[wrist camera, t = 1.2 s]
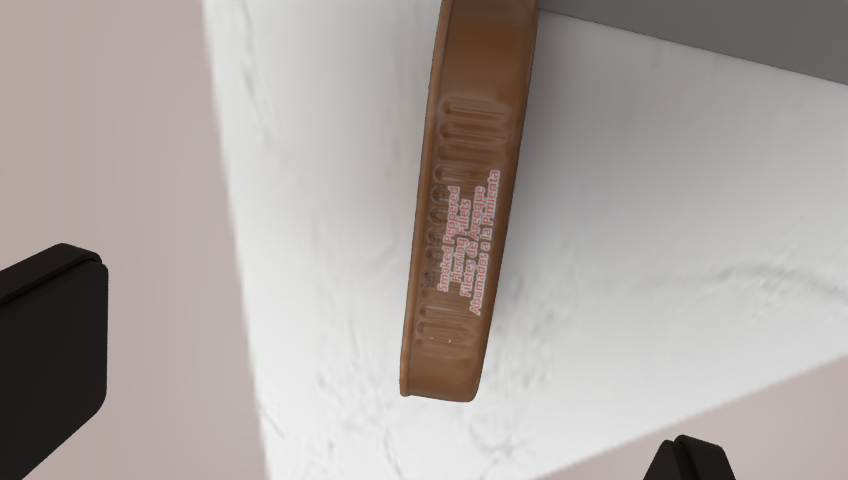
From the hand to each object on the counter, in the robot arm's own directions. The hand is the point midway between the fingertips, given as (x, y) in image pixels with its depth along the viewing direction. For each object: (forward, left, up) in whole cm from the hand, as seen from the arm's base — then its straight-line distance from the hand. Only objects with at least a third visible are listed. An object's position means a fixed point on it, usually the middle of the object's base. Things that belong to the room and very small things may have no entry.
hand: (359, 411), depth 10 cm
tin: (0, 0, -16) cm, 16 cm away
